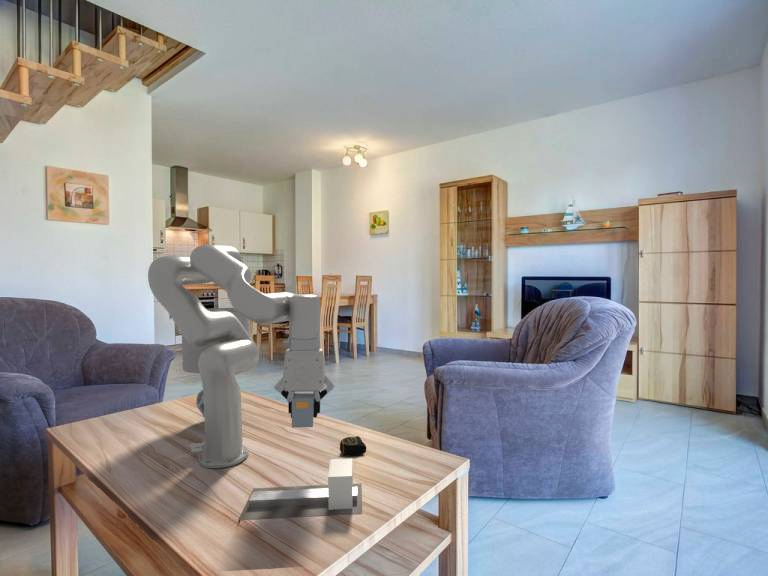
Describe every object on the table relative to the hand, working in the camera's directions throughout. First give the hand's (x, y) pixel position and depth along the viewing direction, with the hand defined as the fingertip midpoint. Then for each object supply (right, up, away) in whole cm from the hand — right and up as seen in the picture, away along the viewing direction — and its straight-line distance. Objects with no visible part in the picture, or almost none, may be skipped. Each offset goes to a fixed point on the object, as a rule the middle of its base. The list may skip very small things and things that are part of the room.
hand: (304, 415), depth 102 cm
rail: (+3, -16, -13) cm, 20 cm away
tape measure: (+12, -15, +13) cm, 23 cm away
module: (0, -2, 0) cm, 2 cm away
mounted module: (+11, -14, -13) cm, 22 cm away
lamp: (-37, -14, +38) cm, 55 cm away
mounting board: (+3, -16, -13) cm, 20 cm away
